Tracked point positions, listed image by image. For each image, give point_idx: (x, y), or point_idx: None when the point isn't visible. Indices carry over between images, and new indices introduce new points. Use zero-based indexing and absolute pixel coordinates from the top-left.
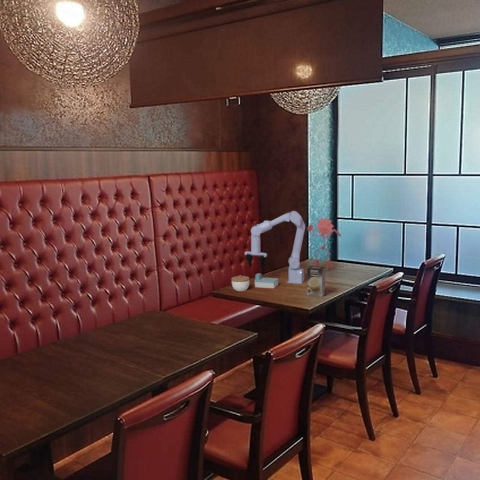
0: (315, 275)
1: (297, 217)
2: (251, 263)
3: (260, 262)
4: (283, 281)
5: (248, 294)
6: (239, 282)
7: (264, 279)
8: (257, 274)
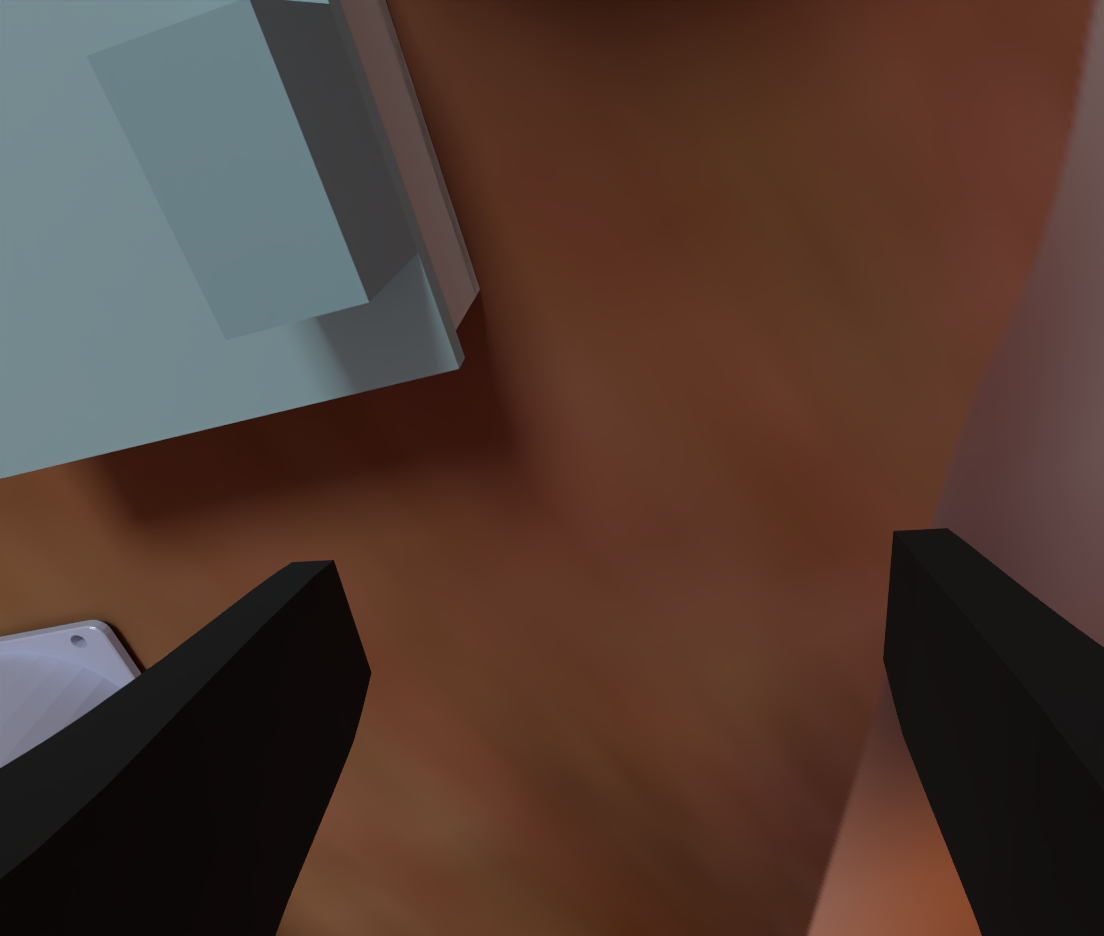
0: None
1: None
2: (933, 765)
3: (97, 751)
4: None
5: None
6: None
7: (114, 206)
8: (231, 122)
